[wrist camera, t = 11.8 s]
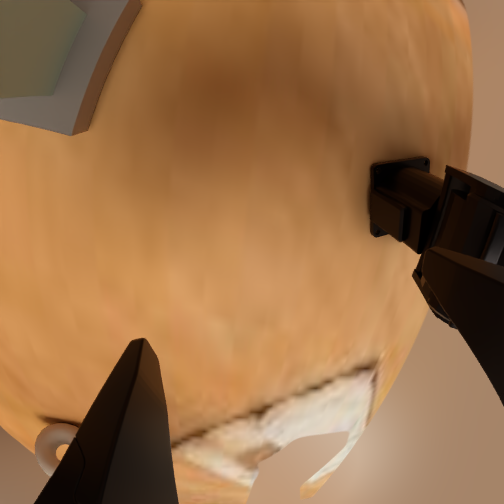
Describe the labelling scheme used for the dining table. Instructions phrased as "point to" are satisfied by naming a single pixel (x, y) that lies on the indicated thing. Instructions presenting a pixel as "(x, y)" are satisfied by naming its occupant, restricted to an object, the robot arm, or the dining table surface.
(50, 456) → the donut
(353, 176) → the dining table surface
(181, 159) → the dining table surface
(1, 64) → the sage green block
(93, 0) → the slate plinth
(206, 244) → the dining table surface
